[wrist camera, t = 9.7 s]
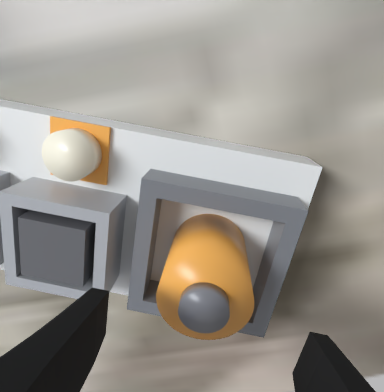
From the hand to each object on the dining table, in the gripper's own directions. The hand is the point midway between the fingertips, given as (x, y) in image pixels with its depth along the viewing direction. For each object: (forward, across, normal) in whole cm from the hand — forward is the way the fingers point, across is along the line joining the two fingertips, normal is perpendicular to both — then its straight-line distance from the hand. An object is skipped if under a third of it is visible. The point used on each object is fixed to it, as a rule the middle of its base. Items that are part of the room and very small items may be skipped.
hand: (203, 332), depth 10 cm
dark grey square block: (+6, +8, 0) cm, 9 cm away
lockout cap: (+6, 0, 0) cm, 6 cm away
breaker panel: (+8, +6, -1) cm, 11 cm away
